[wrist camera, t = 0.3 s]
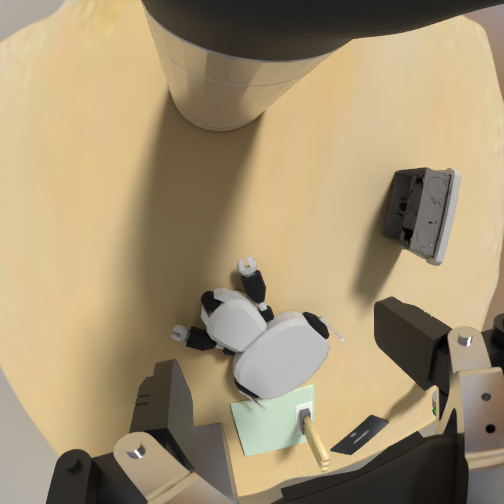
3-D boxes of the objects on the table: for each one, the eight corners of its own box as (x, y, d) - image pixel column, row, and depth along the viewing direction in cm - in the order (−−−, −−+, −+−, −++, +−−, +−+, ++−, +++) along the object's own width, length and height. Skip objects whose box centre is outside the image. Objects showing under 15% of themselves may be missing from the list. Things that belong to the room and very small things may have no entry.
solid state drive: (329, 448, 41) (330, 450, 40) (370, 412, 40) (371, 415, 39) (350, 452, 43) (351, 455, 42) (387, 419, 42) (389, 422, 41)
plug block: (183, 428, 33) (186, 500, 22) (220, 423, 34) (232, 495, 22) (193, 448, 34) (199, 514, 23) (228, 444, 35) (240, 510, 24)
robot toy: (166, 323, 29) (262, 393, 33) (160, 344, 25) (269, 417, 29) (246, 241, 29) (336, 328, 32) (252, 251, 24) (351, 346, 28)
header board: (230, 403, 33) (242, 461, 24) (312, 383, 34) (341, 434, 25) (244, 454, 37) (256, 501, 28) (312, 437, 38) (333, 481, 29)
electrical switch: (402, 247, 31) (451, 270, 22) (368, 240, 31) (415, 262, 22) (418, 173, 29) (472, 176, 20) (385, 160, 29) (437, 157, 20)
